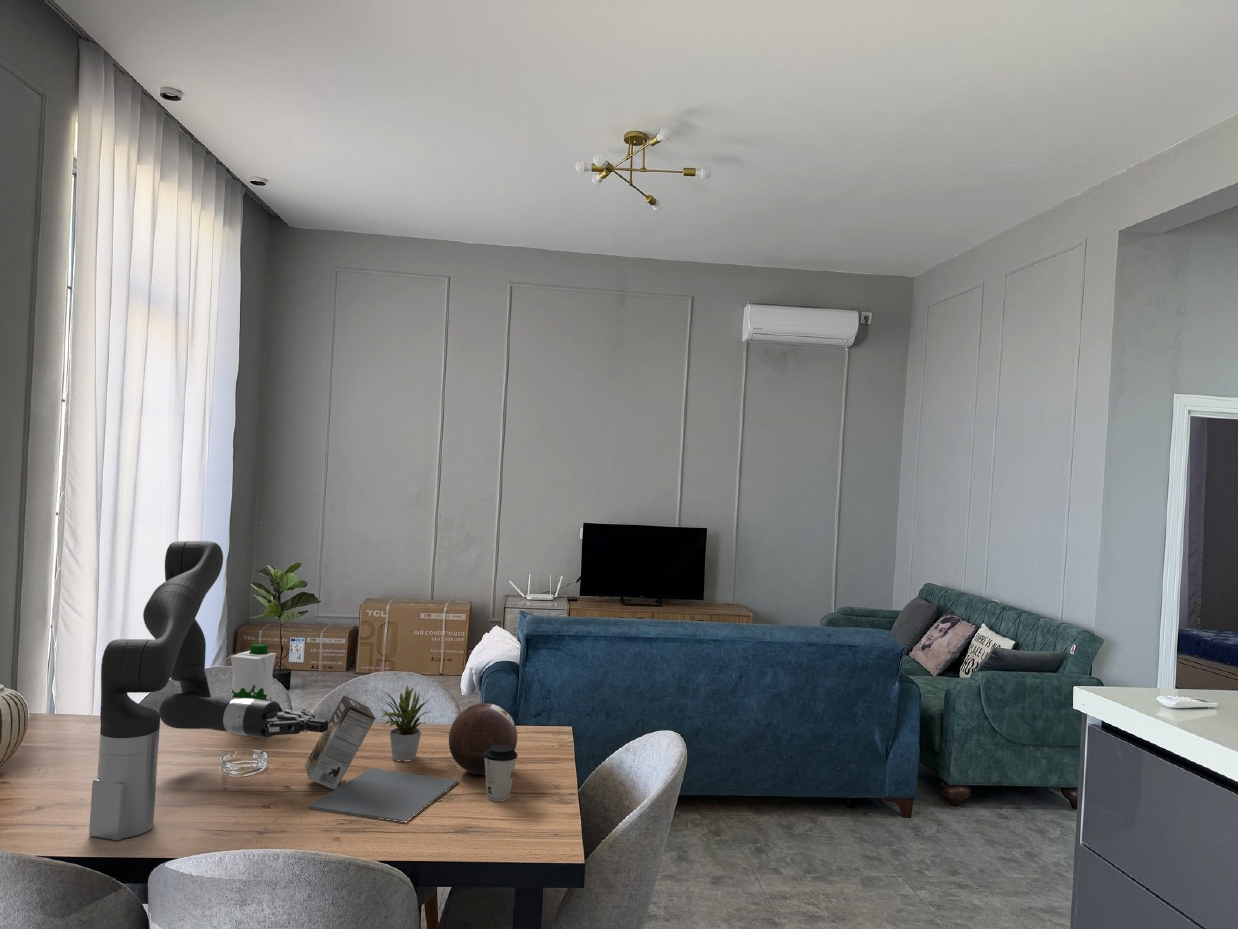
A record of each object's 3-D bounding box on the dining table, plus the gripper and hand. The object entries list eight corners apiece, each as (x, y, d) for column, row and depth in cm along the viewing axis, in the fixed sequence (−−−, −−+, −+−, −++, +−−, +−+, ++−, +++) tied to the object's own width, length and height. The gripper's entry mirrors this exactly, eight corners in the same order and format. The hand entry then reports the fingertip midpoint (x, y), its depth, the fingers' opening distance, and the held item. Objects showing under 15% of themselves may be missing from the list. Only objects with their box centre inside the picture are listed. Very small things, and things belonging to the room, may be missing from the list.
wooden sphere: (520, 782, 191) (524, 712, 191) (450, 785, 186) (454, 714, 187) (509, 760, 205) (513, 695, 205) (443, 763, 201) (447, 696, 201)
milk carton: (275, 724, 224) (280, 644, 225) (252, 733, 215) (257, 651, 216) (245, 720, 226) (250, 641, 227) (221, 729, 217) (226, 647, 218)
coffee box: (303, 765, 186) (342, 694, 189) (330, 776, 188) (369, 706, 192) (307, 779, 178) (349, 705, 181) (336, 791, 180) (377, 717, 183)
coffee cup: (483, 804, 177) (485, 754, 177) (479, 792, 183) (481, 743, 184) (517, 803, 179) (520, 753, 179) (512, 790, 185) (515, 742, 186)
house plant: (366, 749, 208) (371, 679, 208) (426, 746, 213) (430, 677, 213) (372, 768, 194) (377, 694, 195) (436, 764, 199) (440, 692, 200)
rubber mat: (405, 823, 165) (405, 820, 165) (307, 808, 170) (308, 805, 170) (458, 782, 188) (458, 780, 188) (370, 770, 193) (370, 768, 193)
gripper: (233, 706, 180) (309, 716, 176) (272, 692, 193) (344, 701, 189) (231, 743, 180) (307, 754, 176) (270, 727, 193) (342, 736, 189)
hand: (326, 726), depth 183 cm, fingers closed
